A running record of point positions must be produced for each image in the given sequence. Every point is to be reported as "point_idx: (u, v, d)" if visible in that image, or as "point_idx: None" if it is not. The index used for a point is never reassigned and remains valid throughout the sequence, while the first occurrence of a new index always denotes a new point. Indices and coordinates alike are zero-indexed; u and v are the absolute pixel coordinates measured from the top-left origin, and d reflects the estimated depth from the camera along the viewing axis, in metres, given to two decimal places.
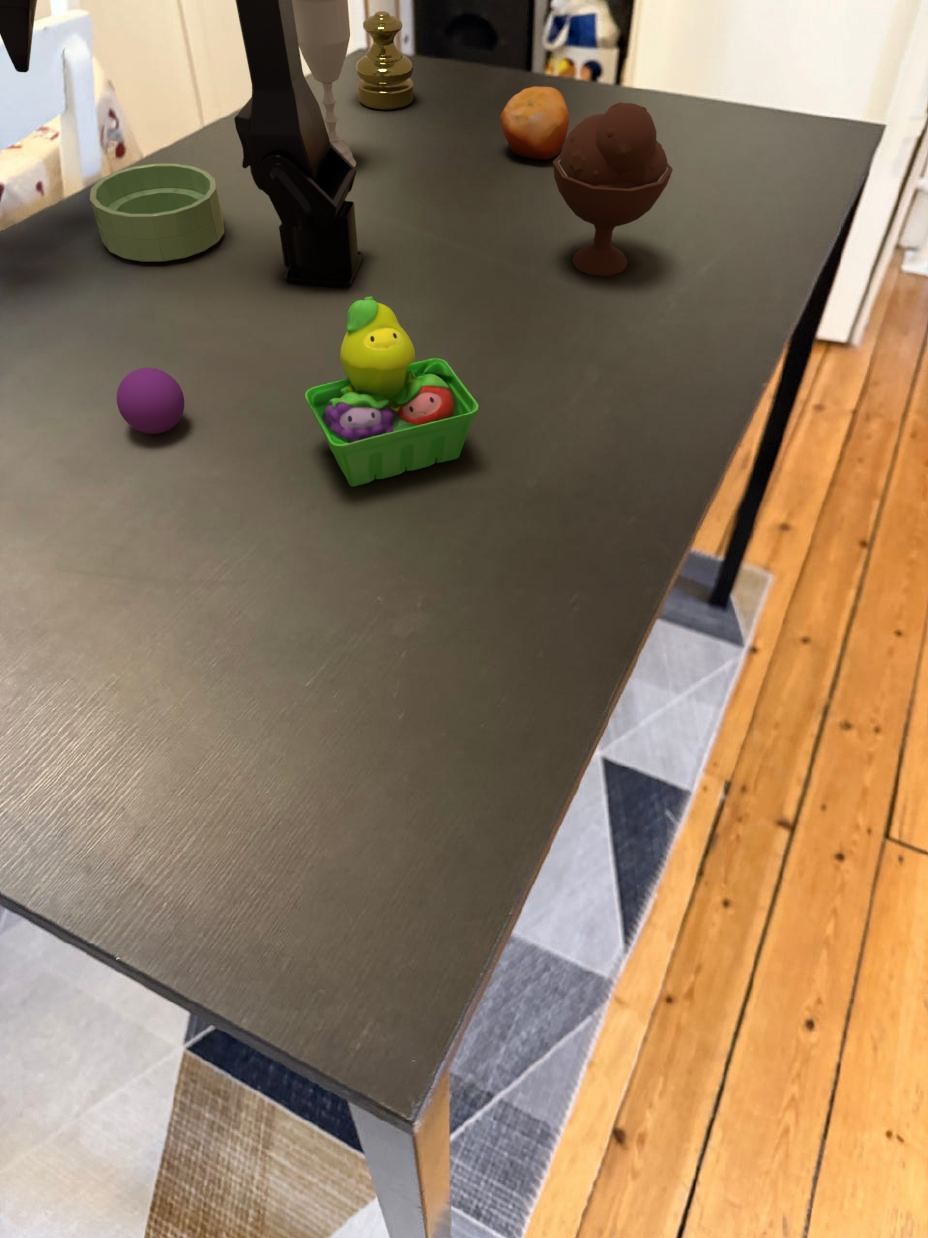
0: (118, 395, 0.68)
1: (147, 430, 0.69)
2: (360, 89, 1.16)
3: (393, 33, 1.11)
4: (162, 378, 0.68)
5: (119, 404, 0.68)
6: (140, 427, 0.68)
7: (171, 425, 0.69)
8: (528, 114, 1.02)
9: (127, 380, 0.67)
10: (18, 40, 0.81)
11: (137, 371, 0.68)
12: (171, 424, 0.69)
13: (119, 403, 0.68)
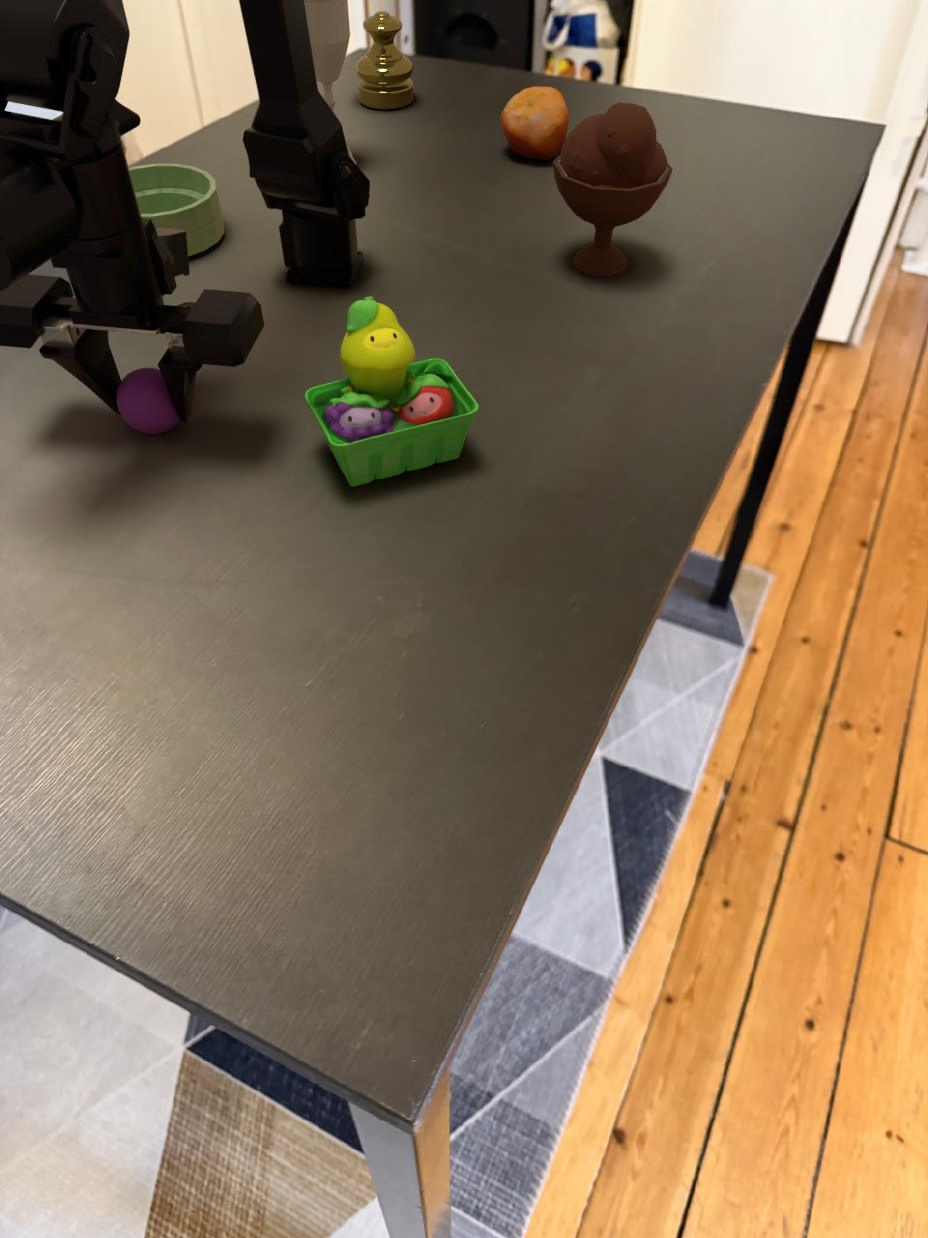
0: (118, 395, 0.68)
1: (147, 430, 0.69)
2: (360, 89, 1.16)
3: (393, 33, 1.11)
4: (162, 378, 0.68)
5: (119, 404, 0.68)
6: (140, 427, 0.68)
7: (171, 425, 0.69)
8: (528, 114, 1.02)
9: (127, 380, 0.67)
10: None
11: (137, 371, 0.68)
12: (171, 424, 0.69)
13: (119, 403, 0.68)
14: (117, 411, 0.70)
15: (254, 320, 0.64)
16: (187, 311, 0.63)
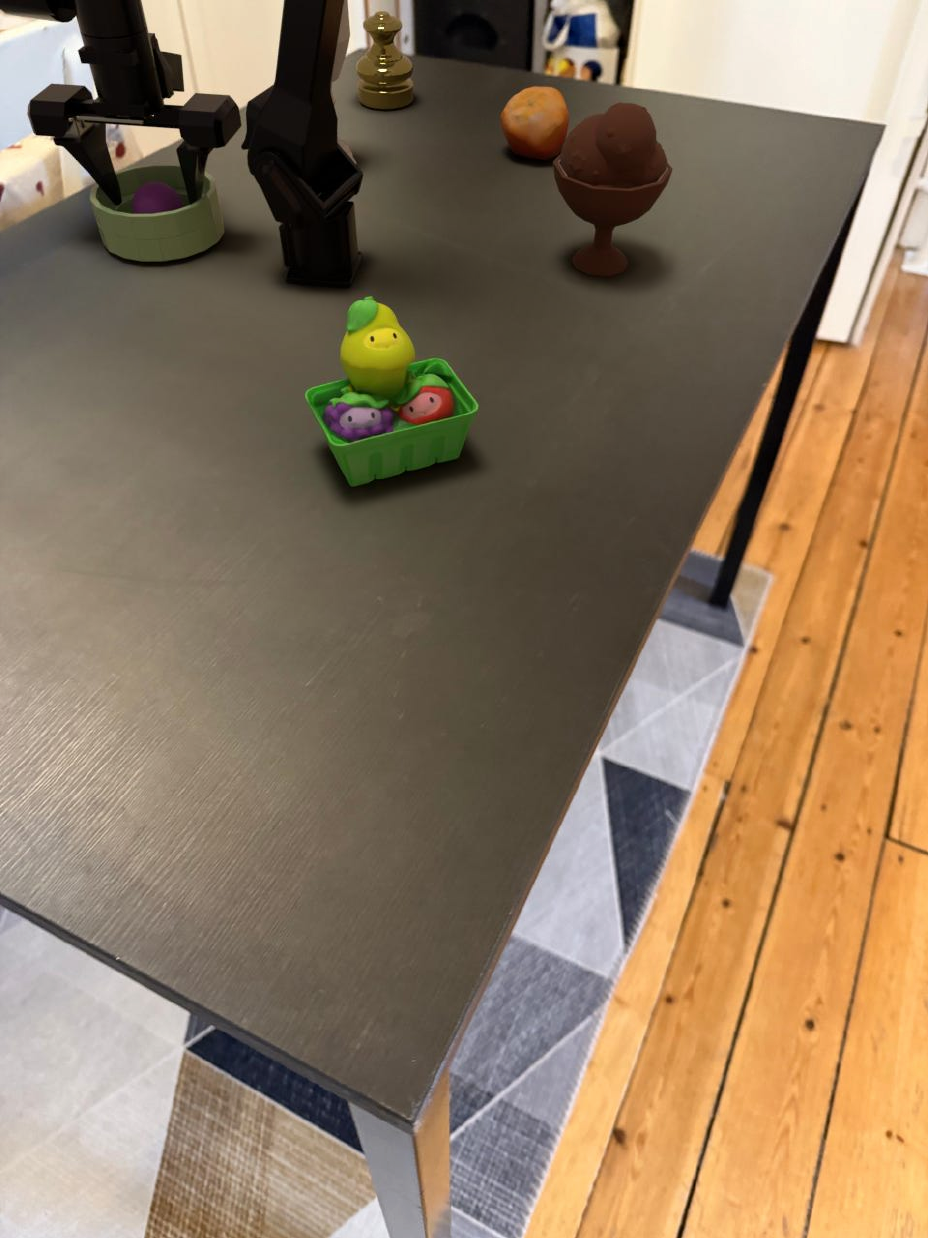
0: (133, 201, 0.88)
1: None
2: (360, 89, 1.16)
3: (393, 33, 1.11)
4: (167, 188, 0.88)
5: (134, 208, 0.89)
6: None
7: None
8: (528, 114, 1.02)
9: (140, 189, 0.88)
10: None
11: (148, 182, 0.88)
12: None
13: (134, 207, 0.88)
14: (113, 199, 0.89)
15: (233, 116, 0.83)
16: (182, 107, 0.82)
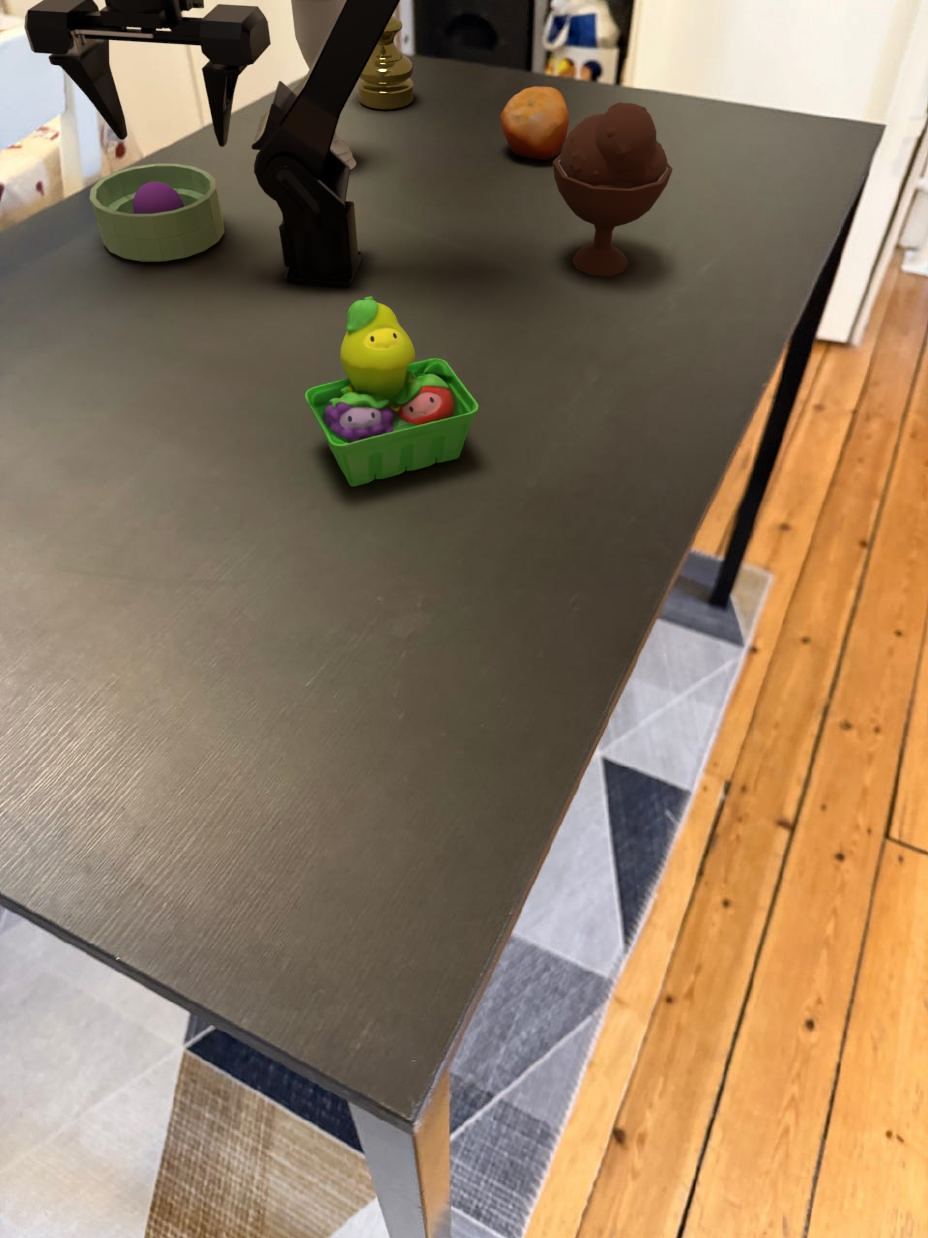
0: (134, 200, 0.88)
1: None
2: (360, 89, 1.16)
3: (393, 33, 1.11)
4: (168, 188, 0.88)
5: (135, 208, 0.88)
6: None
7: None
8: (528, 114, 1.02)
9: (141, 188, 0.88)
10: None
11: (149, 182, 0.88)
12: None
13: (135, 207, 0.88)
14: (117, 132, 0.78)
15: (262, 30, 0.72)
16: None
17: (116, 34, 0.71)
